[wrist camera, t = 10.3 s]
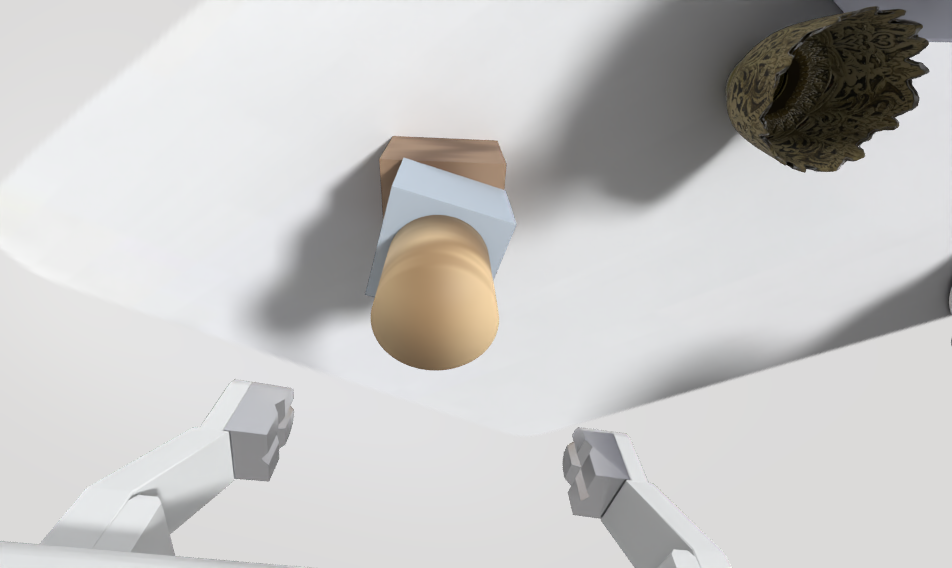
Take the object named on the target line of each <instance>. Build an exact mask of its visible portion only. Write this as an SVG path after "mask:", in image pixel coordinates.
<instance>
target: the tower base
mask: <svg viewBox="0 0 952 568" xmlns="http://www.w3.org/2000/svg"><path fill="white" fill-rule="evenodd" d="M403 158H407V159H410V160H413V161H416V162H419V163H422V164H425V165H429V166H432V167H435V168H438V169H441V170H444V171H447V172H450V173H453V174H456V175H459V176H463V177H466V178H469V179H472V180H475V181H478V182H481V183H484V184H487V185H490V186H493V187H497V188H500V189H503V190H504V186H505V175H506V162H505V159H504V157H503V154H502V151H501V149H500V146H499V144H498V141H494V140H471V139H447V138H424V137H401V136H393V137H392V139H391V140H390V142H389V144H388V145H387V147H386V149H385V150H384V152H383V154H382V155H381V157H380V159H379V163H380V178H381V193H382V208H383V220H384V216H385V212H386V208H387V204H388V200H389V196H390V192H391V187H392V184H393V182H394V180H395V177H396V175H397V172H398V170H399V167H400V165H401V163H402V160H403ZM496 274H497V273H496Z"/></svg>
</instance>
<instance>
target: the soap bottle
mask: <svg viewBox="0 0 952 568" xmlns="http://www.w3.org/2000/svg"><path fill="white" fill-rule="evenodd" d="M833 1H834V2H835V3H836V4H837V5H838V6H839V8H840V9H841V10H842V11H843V12H844V13H846V12H852V11H857V10H860V9H863V8H867V7H873V6H878V7H879V10H891V9H903V10H905V11H907V12H906V13H905V15H904V16H901V17H899V18H897V19H906V20H912V21H916V22H918V23H920V24H922V25H923V28H922V29H921V30H920V31H919V32H918V33H917V34H918V37H921V38H925V39H926V40H928V42H952V0H833Z"/></svg>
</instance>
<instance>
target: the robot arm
mask: <svg viewBox="0 0 952 568" xmlns="http://www.w3.org/2000/svg"><path fill="white" fill-rule="evenodd" d="M949 307H950V311H951V314H952V288H951V291H950V296H949ZM951 345H952V340H951ZM293 398H294V392H293V389H292V388H287V387H281V386H275V385H269V384H263V383H256V382H248V381H242V380H236V379H234V380H233V381H232V382H231V383H230V384H229V385H228V386H227V388H226V389H225V390H224V392H223V394H222V395H221V396H220V398H219V399H218V401H217V402H216V404H215V406H214V407H213V408H212V410H211V412H210V413H209V414H208V416H207V417H206V419H205V420H204V422H203V423H202V425H201V426H200V427H199V428H198V427H193V428H191V429H189V430H187V431H185V432H184V433H182V434H180V435H178V436H177V437H175V438H173V439H171V440H170V441H168V442H166V443H164V444H163V445H161V446H159V447H158V448H156V449H154V450H152V451H150V452H149V453H147V454H145V455H143V456H141V457H140V458H138V459H137V460H135V461H133V462H131V463H129V464H127V465H126V466H124V467H122V468H120V469H119V470H117V471H115V472H113V473H112V474H110V475H108V476H106V477H105V478H103V479H101V480H99V481H98V482H96V483H94V484H92V485H91V486H89V487H87V488H86V489H85V490H84V492H83V493H82V494H81V495H80V496H79V497H78V499H77V500H76V501H75V502H74V504H73V505H72V506H71V507H70V508H69V510H68V511H67V512H66V513H65V514H64V515H63V517H62V518H61V519H60V520H59V521H58V523H57V524H56V525H55V526H54V527H53V529H52V530H51V531H50V532H49V533H48V535H47V536H46V537H45V538H44V539H43V541H42V542H41V543H40V544H29V543H28V544H27V543H17V542H5V541H0V568H308V567H297V566H286V565H273V564H262V563H249V562H239V561H226V560H214V559H203V558H191V557H180V556H175V553H174V549H173V545H172V542H171V538H170V534H171V533H172V532H173V531H175V530H176V529H177V528H178V527H179V526H181V525H182V524H183V523H184V522H185V521H187V520H188V519H189V518H190V517H191V516H193V515H194V514H195V513H196V512H197V511H199V510H200V509H201V508H202V507H203V506H205V504H207V503H208V502H209V501H210V500H212V499H213V498H214V497H215V496H216V495H217V494H219V493H220V492H221V491H222V490H223V489H225V488H226V487H227V486H228V485H230V484H231V483H232V482H233V481H234V479H246V480H258V481H269V480H270V478H271V476H272V474H273V471H274V469H275V467H276V465H277V462H278V460H279V448H281V447H282V446H284V445H285V444H286V442H287V439H288V437H289V434H290V431H291V427H292V424H293V416H294V409H293V408H292V407H291V406H290V405H291V403H292V401H293ZM573 441H574V442H572V443H571V444H569V445H568V446H567V447H566V449H565V452H564V456H563V472H564V477H565V479H566V480H567V481H568V483H569V484H570V485H571V488H570V490H569V491H568V495H569V499H570V504H571V508H572V512H573V515H579V516H586V517H594V518H600V519H601V521H602V522H603V524H604V525H605V527H606V528H607V530H608V531H609V532H610V534H611V535H612V537H613V538H614V539H615V541H616V542H617V543H618V545H619V546H620V548H621V549H622V550H623V552H624V553H625V555H626V556H627V557H628V559H629V560H630V562H631V563H632V564H633V566H634V567H635V568H732V567H731V565H730V563H729V561H728V559H727V557H726V555H725V553H724V552H723V551H722V550H721V549H720V548H719V547H718V546H717V545H716V544H715V543H714V542H713V541H711V539H710V538H709V537H708V536H707V535H706V534H705V533H703V531H701V530H700V529H699V528H698V527H697V526H696V525H695V524H694V523H693V522H692V521H691V520H690V519H689V518H688V517H687V516H686V515H685V514H684V513H683V512H682V511H681V510H680V509H679V508H678V507H677V506H676V505H675V504H674V503H673V502H672V501H671V500H670V499H669V498H668V497H667V496H666V495H665V494H664V493H663V492H662V491H661V490H660V489H659V488H657V486H655V485H654V484H653V483H649V482H648V480H647V477H646V475H645V473H644V470H643V468H642V465H641V463H640V461H639V458H638V456H637V453H636V451H635V448H634V446H633V444H632V441H631V439H630V437H629V436H628V435H627V434H626V433H618V432H609V431H604V430H596V429H588V428H580V427H578V428H577V429H576V430H575V431H574V433H573Z"/></svg>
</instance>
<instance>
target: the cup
mask: <svg viewBox="0 0 952 568" xmlns="http://www.w3.org/2000/svg"><path fill="white" fill-rule="evenodd" d="M906 12H907V11H905V10H903V9H891V10H879V7H878V6H873V7H867V8H863V9H860V10H857V11H852V12H846V13H841V14H836V15H831V16H827V17H822V18H817V19H813V20H809V21H805V22H801V23H798V24H795V25H792V26H789V27H786V28H784V29H782V30H779V31H777V32H775V33H773V34H772V35H770V36H768V37H767V38H765V39H764V40H763V41H761V42H760V43H759V44H757V45H756V46H755V47H754V48H753V49H752V50H751V51H750V52H749V53H748V54H747V55H746V56H745V57H744V58H743V59H742V60H741V61H740V62H739V63H738V64H737V65H736V66H735V67H734V69H733V70H732V72H731V73H730V75H729V77H728V80H727V84H726V97H727V111H728V115H729V118H730V120H731V123H732V125H733V126H734V128H735V129H736V130H737V132H738V133H739V134H740V135H741V136H742V137H743V138H745V139H746V140H747V141H748V142H750V143H751V144H752V145H754V146H755V147H757V148H758V149H760V150H761V151H763V152H765V153H766V154H768V155H769V156H771V157H773V158H774V159H776V160H777V161H779V162H780V163H782V164H784V165H785V166H786V165H788V166H790V167H791V168H792V169H795V170H798V171H801V172H804V173H805V172H806V169H810V170H814V171H820V172H833V171H837V170H838V169H840V167H841V166H842V165H843V164H844V163H845V162H846V161H857V160H859V159H861V158H864V157H865V153H864V150H863V149H862V148H860V145H861V144H862V143H863V142H866V141H869V140H871V138H872V136H873V134H875V133H876V132H878V131H882V130H895V129H896V128H898V127H899V122H898V120H897V119H896V118H895V117H897V116H899V115H902V114H904V113H906V112H908V111H911V110H913V109H914V108H916V107H917V106H918V103H919V96H918V93H917V91H916V89H915V88H914V87H913V86H912V80H911V79H914V78H918V77H921V76H922V75H924V74H927V73H929V69H928V68H927V67H926V66H925V65H924V64H923V63H921V62H916V61H913V60H910V59H909V58H911V57H913V56H915V55H917V54H919V53H920V52H921V51H922V50H923V49H925V48H926V47H927V46H928V44H929V42H928V40H926V39H925V38H921V37H918V34H917V33H918V32H919V31H920V30H921V29H922V28H923V25H922V24H920V23H918V22H916V21H912V20H906V19H897V18H899V17H901V16H904V15H905V13H906ZM858 146H859V147H858Z"/></svg>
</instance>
